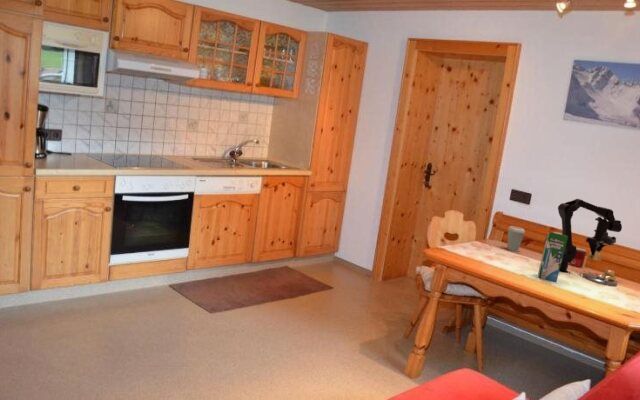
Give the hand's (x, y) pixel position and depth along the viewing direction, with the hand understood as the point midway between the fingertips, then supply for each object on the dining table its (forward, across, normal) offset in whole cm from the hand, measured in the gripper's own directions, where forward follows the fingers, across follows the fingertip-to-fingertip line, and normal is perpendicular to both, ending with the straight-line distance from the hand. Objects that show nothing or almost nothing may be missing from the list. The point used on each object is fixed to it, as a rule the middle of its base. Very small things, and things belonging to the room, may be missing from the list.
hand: (594, 255), depth 332 cm
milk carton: (+12, -49, -1) cm, 50 cm away
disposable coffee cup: (+12, -6, +49) cm, 51 cm away
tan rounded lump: (+2, 0, 0) cm, 2 cm away
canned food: (+12, +14, +16) cm, 24 cm away
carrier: (+12, -8, -10) cm, 17 cm away
